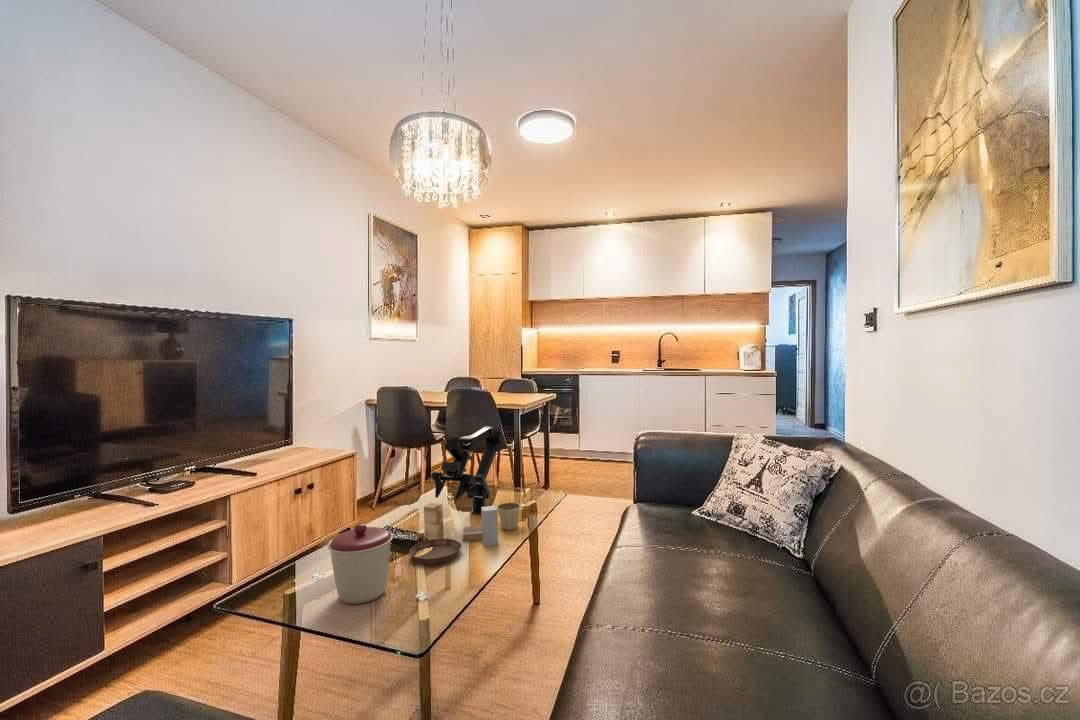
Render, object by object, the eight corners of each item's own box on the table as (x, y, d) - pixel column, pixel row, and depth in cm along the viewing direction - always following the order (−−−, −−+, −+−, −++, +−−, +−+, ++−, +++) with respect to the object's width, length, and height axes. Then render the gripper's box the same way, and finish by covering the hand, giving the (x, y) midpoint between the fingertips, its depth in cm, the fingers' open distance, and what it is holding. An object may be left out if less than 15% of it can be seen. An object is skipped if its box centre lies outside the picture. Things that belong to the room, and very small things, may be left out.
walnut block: (463, 534, 192) (463, 527, 192) (484, 533, 193) (484, 525, 193) (463, 542, 184) (462, 534, 184) (484, 540, 185) (484, 532, 185)
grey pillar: (482, 541, 183) (481, 507, 183) (495, 540, 184) (494, 505, 184) (484, 546, 178) (483, 511, 178) (498, 544, 179) (497, 509, 179)
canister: (373, 575, 157) (370, 510, 157) (407, 591, 146) (404, 521, 146) (317, 598, 143) (315, 526, 143) (350, 618, 132) (347, 540, 132)
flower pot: (510, 533, 190) (510, 511, 190) (492, 528, 196) (492, 507, 196) (526, 526, 198) (525, 504, 198) (508, 521, 204) (507, 501, 203)
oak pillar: (432, 535, 191) (431, 502, 190) (443, 537, 189) (442, 503, 189) (424, 540, 186) (423, 506, 186) (436, 541, 184) (434, 507, 184)
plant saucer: (400, 557, 172) (399, 548, 172) (443, 542, 184) (442, 534, 184) (427, 572, 159) (427, 562, 159) (471, 555, 172) (471, 546, 172)
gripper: (431, 452, 202) (416, 486, 193) (471, 454, 195) (457, 490, 186) (443, 466, 210) (429, 500, 200) (481, 468, 203) (469, 504, 193)
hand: (445, 498), depth 195 cm, fingers open, 9 cm apart
